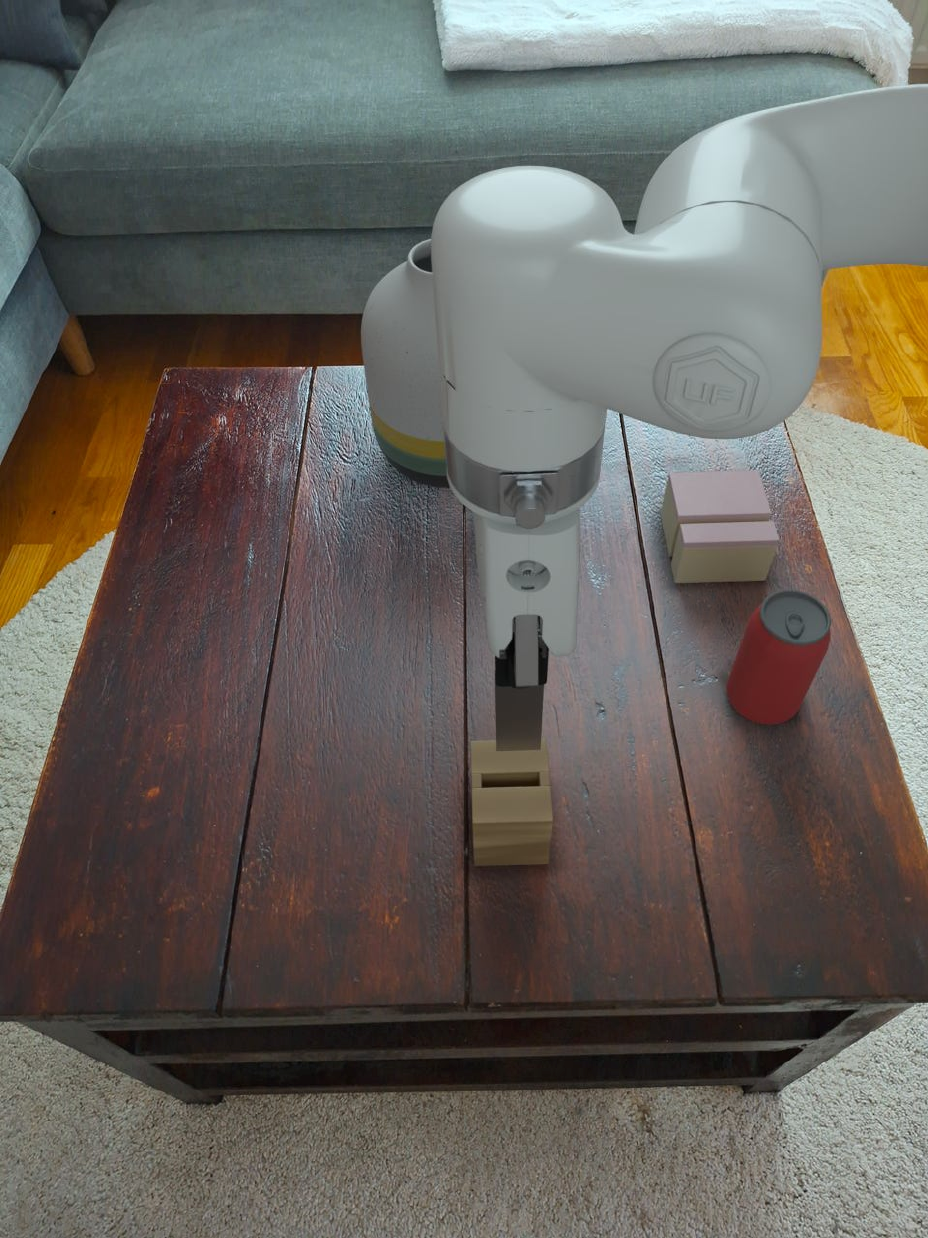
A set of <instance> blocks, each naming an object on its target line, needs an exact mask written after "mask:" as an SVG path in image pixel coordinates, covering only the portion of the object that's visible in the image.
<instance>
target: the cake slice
mask: <svg viewBox="0 0 928 1238" xmlns="http://www.w3.org/2000/svg"><path fill="white" fill-rule="evenodd" d="M779 543H780V537H779V533H778V530H777V527H776V524H775V521H774V520H769V521H765V522H732V523H698V524H680V527H679V531H678V536H677V540H676V544H675V549H674V553H673V557H671V563H670V567H671V573H672V578H673V582H674V584H696V583H697V584H698V583H699V584H701V583H727V582H728V583H731V582H732V583H733V582H735V583H736V582H765V581H766V580H767V577H768V575H769V571H770V569H771V566H772V562H773V560H774V557H775V554H776V551H777V549H778V546H779Z"/></svg>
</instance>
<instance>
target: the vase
mask: <svg viewBox="0 0 928 1238" xmlns="http://www.w3.org/2000/svg"><path fill="white" fill-rule="evenodd" d="M360 344H361V345H360V347H361V355H362V361H363V363H362V364H363V369H364V377H365V383H366V391H367V398H368V405H369V411H370V412H369V413H370V418H371V424H372V429H373V430H372V431H373V435H374V437H375V441H376V443H377V445H378V447H379V449H380V451H381V453H382V455H383V456H384V457H385V459H386V461H388V463H389V465H391V467H393V469H394V470H396V471H397V472H398V473H399V474H400V475H402V476H404V477H405V478H406V479H409V480H410V481H413V482H415V483H417V484H421V485H424V486H428V487H432V488H440V489H451V488H450V486H449V482H448V479H447V469H446V457H445V443H444V429H443V408H442V396H441V383H440V371H439V358H438V344H437V330H436V317H435V303H434V289H433V275H432V261H431V238H429V239H426V240H423V241H420V242H418V243H417V244H415V245H414V246H413V247H412V248H411V249H410V250H409V252H408V255H407V260H406V261H405V262H404V261H403V263H400V264H399V265H397V266H396V267H395V268H393V269H392V270H390V271H388V273H387V274H385V276H383V277H382V278H381V279H380V281H378V283H376V285H375V286H374V288H373V289H372V291H371V293H370V294H369V297H368V298H367V301H366V304H365V307H364V309H363V313H362V318H361V327H360Z"/></svg>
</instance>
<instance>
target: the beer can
mask: <svg viewBox="0 0 928 1238" xmlns="http://www.w3.org/2000/svg"><path fill="white" fill-rule="evenodd" d="M748 619H749V620H748V622H747V624H746V627H745V630H744V634H743V636H742V639H741V641H740V645H739V648H738V650H737V653H736V656H735V658H734V661H733V665H732V668H731V670H730V672H729V675H728V677H727V678H728V679H727V681H726V685H725V688H726V696H727V698H728V700H729V703H730V705H731V706H732V708H733V709H734V710H735V711H736V712H737V713H738V714H739V715H741V716H742V717H744V718H745V719H747V720H748V721H751V722H753V723H757V724H759V725H771V726H773V725H777V724H782V723H785V722H787V721H789V720H790V719H792V718H793V717H795V715H796V714H797V712H798V711H799V710H800V709H801V708H800V707H801V706H802V704H803V702H804V700H805V698H806V695H807V694H808V692H809V690H810V687H811V685H812V684H813V681H814V679H815V677H816V675H817V673H818V671H819V669H820V668H821V667H820V666H821V665H822V663H823V661H824V659H825V656H826V654H827V653H828V650H829V647H830V643H831V636H832V633H831V627H832V617H831V614H830V611H829V610H828V609H827V607H826V605H825V604H824V603H823V602H822V601H820V600H819V599H818V598H817V597H815V596H813V595H811V594H809V593H808V592H805V591H802V590H797V589H781V590H777V591H774V592H773V593H770V594H769V595H767V596H766V597H765V598H764V600H763V601H762V602H761V603H760V604H759V605H758V607H757V608H756V609H755V610H754V611H753V612H752V614H751V615H750V617H749V618H748Z"/></svg>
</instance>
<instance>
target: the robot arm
mask: <svg viewBox="0 0 928 1238" xmlns="http://www.w3.org/2000/svg"><path fill="white" fill-rule="evenodd" d="M656 169H657V170H656V171H655V172H654V174H653V176H652V177H651V179H650V180H649V182H648V184H647V187H646V189H645V192H644V193H643V196H642V200H641V203H640V206H639V210H638V213H637V218H636V223H635V227H634V233H631V232H629V231H628V230H626V229H625V226H624V224H623V220H622V217H621V214H620V211H619V209H618V207H617V206H616V203H615V202H614V200H613V199H612V197H611V196H610V195H609V194H608V192H606V191H605V189H603V188H602V187H601V186H599V185H598V184H597V183H595V182H593V181H592V180H591V179H589V178H587V177H585V176H583V175H581V174H579V173H575V172H573V171H570V170H567V169H564V168H563V169H562V168H558V167H551V166H544V165H516V166H509V167H503V168H499V169H494V170H490V171H487V172H483V173H481V174H478V175H477V176H474V177H472V178H470V179H469V180H467V181H465V182H463V183H462V184H460V185H459V186H458V187H456V189H454V190H453V191H452V192H450V194H449V195H448V196H447V197H446V198H445V200H444V201H443V203H442V204H441V205H440V207H439V209H438V211H437V213H436V215H435V218H434V221H433V224H432V230H431V237H430V239H431V261H432V275H433V289H434V303H435V317H436V330H437V344H438V358H439V371H440V383H441V396H442V408H443V429H444V443H445V457H446V469H447V479H448V482H449V486H450V488H449V489H450V490H451V492H452V493H453V495H454V497H455V498H456V499H457V500H458V501H459V503H461V505H463V506H464V507H465V508H467V509H468V510H470V511H471V512H473V513H472V515H473V526H474V527H473V528H474V539H475V540H474V542H475V555H476V564H477V573H478V574H477V576H478V583H479V590H480V592H479V593H480V600H481V607H482V613H483V620H484V626H485V627H484V628H485V634H486V635H485V636H486V640H487V647H488V648H487V649H488V651H489V652H490V653H491V654H492V655H494V670H495V671H494V684H495V683H496V685H497V686H499V687H509V686H511V687H513V688H530V687H538V685H544V686H545V685H546V684H547V683H548V672H549V671H548V670H549V659H550V657H549V655H550V652H551V654H552V655H553V656H554V657H565V656H566V657H567V656H570V655H572V654H573V653H574V652H575V650H576V649H577V645H578V644H577V643H578V642H577V641H578V615H579V614H578V613H579V593H580V573H581V571H580V570H581V568H580V566H581V508H582V507H583V506H584V505H585V504H586V503H587V502H588V501H589V500H590V499H591V498H592V496H593V495H594V494H595V492H596V490H597V488H598V486H599V483H600V479H601V471H602V461H603V452H604V442H605V433H606V423H607V416H608V410H610V411H612V412H614V413H617V414H621V415H623V416H626V417H628V418H632V419H634V420H637V421H640V422H643V423H645V424H648V425H652V426H654V427H657V428H660V429H663V430H666V431H670V432H674V433H676V434H681V435H685V436H689V437H694V438H700V439H709V440H738V439H743V438H749V437H753V436H756V435H759V434H763V433H765V432H768V431H769V430H772V429H773V428H775V427H777V426H779V425H780V424H782V423H783V422H784V421H786V420H787V419H789V417H791V416H792V415H793V414H794V413H795V412H796V411H797V410H798V408H800V407H801V405H802V404H803V402H804V401H805V399H806V398H807V396H808V395H809V393H810V392H811V389H812V387H813V384H814V383H815V379H816V376H817V373H818V372H819V366H820V362H821V356H822V355H821V354H822V345H823V310H822V308H823V307H822V306H823V305H822V304H823V303H822V283H823V271H827V270H836V269H841V268H851V267H858V266H859V267H861V266H874V265H909V266H916V267H917V266H919V267H928V83H915V84H913V83H912V84H903V85H892V86H891V85H889V86H883V87H877V88H869V89H863V90H862V89H861V90H856V91H852V92H844V93H840V94H834V95H830V96H825V97H819V98H815V99H810V100H805V101H804V100H803V101H799V102H794V103H789V104H784V105H780V106H775V107H770V108H769V107H768V108H765V109H761V110H756V111H752V112H749V113H745V114H743V115H739V116H736V117H733V118H730V119H726V120H724V121H721V122H718V123H717V124H715V125H712V126H710V127H709V128H706V129H704V130H702V131H700V132H698V133H696V134H695V135H693V136H691V137H690V138H689V139H687V140H686V141H684V142H683V143H681V144H680V145H678V146H677V147H676V148H675V149H673V151H672V152H671V153H670V154H669V155H668V156H667V157H666V158H665V159H664V160H663V161H662V163H661V164H659V166H658V168H656ZM512 636H513V637H512Z"/></svg>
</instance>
